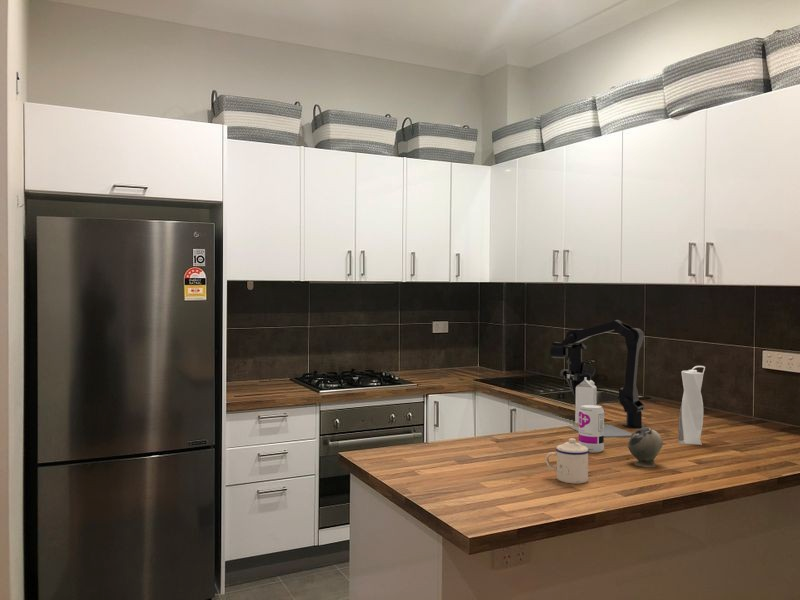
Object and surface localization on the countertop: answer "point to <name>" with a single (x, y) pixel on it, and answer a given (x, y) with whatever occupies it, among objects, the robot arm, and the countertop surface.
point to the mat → (610, 431)
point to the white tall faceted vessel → (691, 408)
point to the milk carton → (585, 396)
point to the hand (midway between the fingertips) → (575, 395)
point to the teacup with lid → (571, 462)
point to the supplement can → (591, 427)
